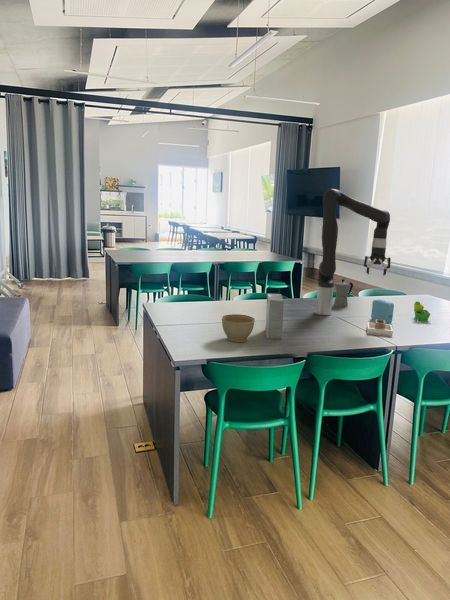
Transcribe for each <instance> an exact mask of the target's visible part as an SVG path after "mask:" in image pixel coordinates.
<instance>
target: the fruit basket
mask: <svg viewBox="0 0 450 600" xmlns="http://www.w3.org/2000/svg"><path fill="white" fill-rule="evenodd" d="M413 306H414V307H413V311H414V318H415V319H416V320H417V322H424V323H425V322H428V320H429V319H430V316H431V313H430V312H429V310H427V309H424V307H425V306H424V305H423V304H422V303H421V302H420V301H419V300H418V301H415V302H414V303H413Z"/></svg>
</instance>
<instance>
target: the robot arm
mask: <svg viewBox="0 0 450 600" xmlns="http://www.w3.org/2000/svg"><path fill="white" fill-rule="evenodd" d="M337 206H341V207H343V208H346V209H349V211H352V212H353V213H356V214H357V215H359V216H361V217H362V216H363V217H365V218H367V219H369V220H371V221H373V222H375V223H376V227H375V228H374V230H373V235H372V236H373V238H372V242H371V253H370V256H369V255H365V256H364V262H363V267H365V268H366V274H367V275H369V274H370V267H371V266H372V265H379V266H380V265H382V267H383V273H382V276H383V277H384V276H386V274H387V270H388V269H391V257H390V256H389V257H386V251H387V250H386V249H387V236H388V229H389V225H390V221H391V214H390V212H389V211H387V210H386V209H385V210H384V209H383V210H382V209H379V208H377V207H374V206H373V205H371V204H368V203H366V202H364V201H361V200H359V199H355V198H352V197H351V196H349V195H346V194H345V193H344V192H342V191H341V190H339V189H337V188H327V189H326V190H325V191H324V193H323V194H322V210H323V213H322V214H323V215H322V229H321V246H322V260H321V262H320V263H319V265H318V275H317V283H318V284H317V294H316V295H317V296H316V297H317V298H316V301H315V302H316V304H315V314H316V315H320V316H330V315H332V307H333V294H334V287H335V285H334V284H335V282H334V275H335V273H336V269H337V265H336V262H337V261H336V253H337V251H336V250H337V245H338V235H339V233H338V232H339V226H338V222H337V216H336V210H337V209H336V208H337ZM369 259H370V262H369V263H367V262H368V261H369ZM385 260H386V262H387V265H386V264H385Z"/></svg>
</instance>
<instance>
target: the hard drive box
mask: <svg viewBox="0 0 450 600" xmlns="http://www.w3.org/2000/svg"><path fill="white" fill-rule="evenodd" d="M284 307H285V300H284V298H283V295H282V294H281V293H267V294H266V313H265V314H266V315H265V333H266V337H267V339H276V340H277V339H280V340H281V339H283V327H284V325H283V323H284Z"/></svg>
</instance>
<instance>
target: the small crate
mask: <svg viewBox="0 0 450 600" xmlns="http://www.w3.org/2000/svg"><path fill="white" fill-rule="evenodd" d="M374 323H375V329H382V330H385V324H386V323H385V320H377V319H376V320H375V322H374Z"/></svg>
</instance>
